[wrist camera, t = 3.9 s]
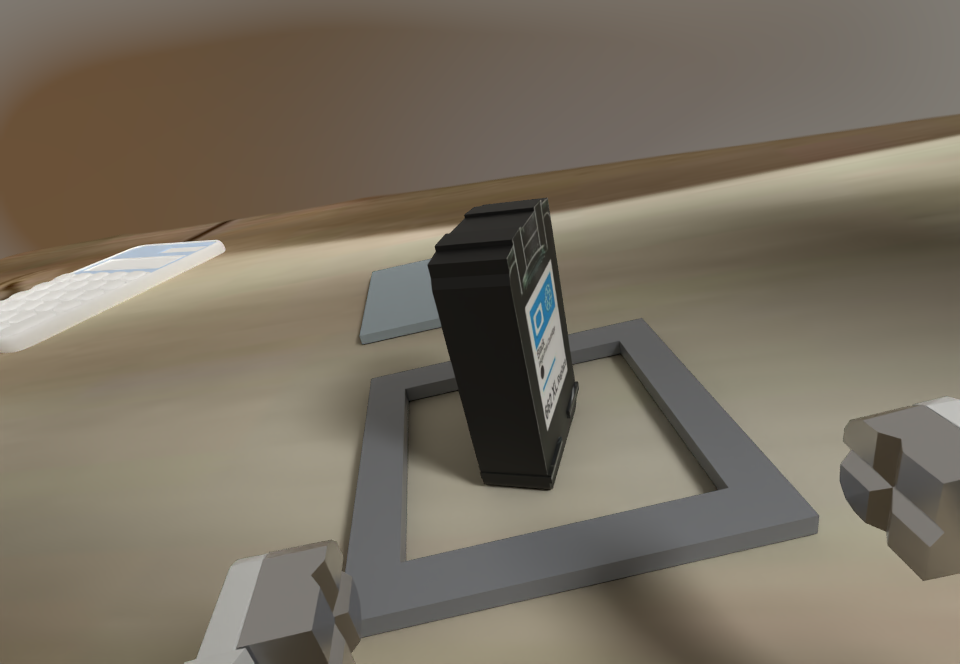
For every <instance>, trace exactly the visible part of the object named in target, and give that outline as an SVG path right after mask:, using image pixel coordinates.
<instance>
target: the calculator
mask: <svg viewBox="0 0 960 664" xmlns="http://www.w3.org/2000/svg"><path fill="white" fill-rule="evenodd" d="M223 252H225V247H224V245H223V243H222V242H221V241H219V240H208V241H193V242H179V243H165V244H151V245H142V246H137V247H134V248H131V249H128V250H126V251H123V252H121V253H118V254H116V255H113V256H111V257H108V258H106V259H104V260H101V261H99V262H96V263H94V264H91V265H89V266H86V267H84V268H82V269H79V270H77V271H74V272H72V273H69V274H63V275H61V276H58V277H56V278H55V279H54V280H52V281H50V282H44V283H41V284H38V285H36V286H34V287H33V288H32V289H30V290H28V291H22V292H19V293H16V294H14V295H12V296H10V297H9V298H8V299H6V300H3V301H0V353H13V352H18V351H21V350H24V349H26V348H29V347H31V346H33V345H35V344H37V343H40V342H42V341H44V340H46V339H48V338H50V337H52V336H54V335H56V334H58V333H60V332H62V331H64V330H66V329H68V328H70V327H72V326H74V325H77V324H79V323H81V322H83V321H85V320H87V319H89V318H91V317H93V316H95V315H97V314H99V313H101V312H103V311H105V310H107V309H109V308H111V307H113V306H115V305H117V304H120V303H122V302H124V301H126V300H128V299H130V298H132V297H134V296H136V295H138V294H140V293H142V292H144V291H146V290H148V289H150V288H152V287H154V286H156V285H158V284H161V283H163V282H165V281H167V280H169V279H171V278H173V277H175V276H177V275H179V274H181V273H183V272H185V271H187V270H189V269H191V268H193V267H195V266H197V265H199V264H201V263H204V262H206V261H208V260H210V259H212V258H214V257H216V256H218V255H220V254H221V253H223Z"/></svg>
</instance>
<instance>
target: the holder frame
mask: <svg viewBox="0 0 960 664" xmlns="http://www.w3.org/2000/svg"><path fill="white" fill-rule="evenodd" d="M568 339H569V345H570V352H571V359H572V364H576V363H580V362H585V361H589V360H593V359H598V358H602V357H607V356H611V355H616V354H620V353H621V354H622V356H623V357H624V359H625V360H626V361H627V363H628V364H629V366H630V367H631V368H632V370H633V371H634V373H635V374H636V375H637V377H638V378H639V380H640V381H641V382H642V384H643V385H644V387H645V388H646V389H647V391H648V392H649V394H650V395H651V396H652V398H653V399H654V401H655V402H656V403H657V405H658V406H659V408H660V409H661V410H662V412H663V413H664V415H665V416H666V417H667V419H668V420H669V422H670V423H671V424H672V426H673V427H674V429H675V430H676V431H677V433H678V434H679V435H680V437H681V438H682V440H683V441H684V442H685V444H686V445H687V447H688V448H689V449H690V451H691V452H692V454H693V455H694V456H695V458H696V459H697V461H698V462H699V463H700V465H701V466H702V468H703V469H704V470H705V472H706V473H707V475H708V476H709V477H710V479H711V480H712V482H713V483H714V484H715V486H716V487H717V489H718V490H717V491H713V492H708V493H704V494H700V495H695V496H691V497H686V498H682V499H678V500H673V501H669V502H664V503H660V504H656V505H651V506H647V507H642V508H638V509H634V510H629V511H625V512H620V513H616V514H612V515H607V516H603V517H598V518H594V519H590V520H585V521H581V522H576V523H572V524H568V525H563V526H559V527H554V528H550V529H546V530H541V531H537V532H532V533H528V534H524V535H519V536H515V537H510V538H506V539H502V540H497V541H493V542H488V543H484V544H480V545H475V546H471V547H467V548H462V549H458V550H453V551H449V552H445V553H440V554H436V555H431V556H427V557H423V558H418V559H414V560H409V561H406V524H407V464H408V404H409V401H411V400H415V399H420V398H424V397H429V396H433V395H438V394H442V393H446V392H451V391H455V390H458V386H457V382H456V379H455V375H454V371H453V367H452V364H451V361H448V362H444V363H439V364H435V365H430V366H426V367H421V368H417V369H412V370H408V371H403V372H399V373H394V374H390V375H385V376H381V377H377V378H372V379H371V386H370V393H369V401H368V408H367V415H366V423H365V430H364V437H363V445H362V452H361V459H360V467H359V474H358V482H357V489H356V496H355V504H354V511H353V518H352V526H351V533H350V540H349V548H348V555H347V562H346V570H345V573H346V574H348V575H350V576H352V577H353V580H354V582H355V585H356V587H357V591H358V595H359V599H360V605H361V618H362V627H361V638H362V637H366V636H370V635H375V634H379V633H384V632H388V631H392V630H397V629H401V628H405V627H410V626H414V625H419V624H423V623H427V622H432V621H436V620H440V619H445V618H449V617H454V616H458V615H462V614H467V613H471V612H475V611H480V610H484V609H489V608H493V607H497V606H502V605H506V604H510V603H515V602H519V601H524V600H528V599H532V598H537V597H541V596H545V595H550V594H554V593H558V592H563V591H567V590H572V589H576V588H580V587H585V586H589V585H593V584H598V583H602V582H607V581H611V580H615V579H620V578H624V577H628V576H633V575H637V574H642V573H646V572H650V571H655V570H659V569H663V568H668V567H672V566H677V565H681V564H685V563H690V562H694V561H698V560H703V559H707V558H712V557H716V556H720V555H725V554H729V553H733V552H738V551H742V550H747V549H751V548H755V547H760V546H764V545H768V544H773V543H777V542H782V541H786V540H790V539H795V538H799V537H803V536H808V535H812V534H817V533H818V523H819V515H818V514H817V512H816V511H815V510H814V509H813V508H812V507H811V506H810V505H809V504H808V502H807V501H806V500H805V499H804V498H803V497H802V496H801V495H800V493H799V492H798V491H797V490H796V489H795V488H794V487H793V486H792V485H791V483H790V482H789V481H788V480H787V479H786V478H785V477H784V476H783V475H782V473H781V472H780V471H779V470H778V469H777V468H776V467H775V466H774V465H773V463H772V462H771V461H770V460H769V459H768V458H767V457H766V456H765V455H764V453H763V452H762V451H761V450H760V449H759V448H758V447H757V446H756V444H755V443H754V442H753V441H752V440H751V439H750V438H749V437H748V436H747V434H746V433H745V432H744V431H743V430H742V429H741V428H740V427H739V426H738V424H737V423H736V422H735V421H734V420H733V419H732V418H731V417H730V416H729V414H728V413H727V412H726V411H725V410H724V409H723V408H722V407H721V406H720V404H719V403H718V402H717V401H716V400H715V399H714V398H713V397H712V395H711V394H710V393H709V392H708V391H707V390H706V389H705V388H704V387H703V385H702V384H701V383H700V382H699V381H698V380H697V379H696V378H695V377H694V375H693V374H692V373H691V372H690V371H689V370H688V369H687V368H686V367H685V365H684V364H683V363H682V362H681V361H680V360H679V359H678V358H677V357H676V355H675V354H674V353H673V352H672V351H671V350H670V349H669V348H668V347H667V345H666V344H665V343H664V342H663V341H662V340H661V339H660V338H659V336H658V335H657V334H656V333H655V332H654V331H653V330H652V329H651V328H650V326H649V325H648V324H647V323H646V322H645V321H644V320H643V319H642V318H640V319H636V320H631V321H627V322H622V323H618V324H613V325H609V326H604V327H600V328H595V329H591V330H586V331H582V332H578V333H573V334H569V335H568Z"/></svg>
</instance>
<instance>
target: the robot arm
mask: <svg viewBox="0 0 960 664" xmlns="http://www.w3.org/2000/svg"><path fill="white" fill-rule="evenodd" d="M843 442H844V443H845V444H846V445H847V446H848V447H849V449H850V450H851V451H850V452H849V454H848V455H847V456H846V457H845V459H844V460H843V461H842V463H841V464H840V483H841V486H842V489H843V492H844V495H845V498H846V500H847V501H848V503H849V504H850V506H851V507H852V509H853V510H854V512H855V513H856V514H857V515H858V516H859V517H860V518H861V519H862V520H863V521H864V522H865V523H867V524H869V525H872V526H874V527H876V528H879V529H881V530H884V531H886V535H887V545H888V546H889V547H890V548H891V549H892V550H893V551H894V552H895V553H896V554H897V555H898V556H899V557H900V558H901V559H902V560H903V561H904V562H905V563H906V564H907V565H908V566H909V567H910V568H911V569H912V570H913V571H914V572H915V573H916V574H917V575H918V576H919V577H920V578H921V579H922V580H923V581H925V580H930V579H935V578H940V577H945V576H950V575H955V574H960V399H956V398H952V397H948V396H945V397H941V398H937V399H933V400H929V401H925V402H921V403H917V404H914V405H912V406H906V407H902V408H898V409H894V410H889V411H885V412H881V413H877V414H873V415H869V416H864V417H860V418H856V419H852V420H850V421H849V422H848V424H847V425H846V427H845V428H844V436H843ZM343 558H344V556H343V554H342V552H341V550H340V548H339V546H338V543H337V541H334V540H327V541H322V542H317V543H312V544H308V545H303V546H298V547H293V548H288V549H283V550H278V551H273V552H269V553H268V554H263V555H258V556H253V557H248V558H243V559H238V560H236V561H235V562H234V563H233V564H232V565H231V567H230V568H229V570H228V573H227V576H226V578H225V581H224V584H223V587H222V589H221V592H220V595H219V597H218V600H217V603H216V606H215V608H214V611H213V614H212V616H211V619H210V622H209V625H208V627H207V630H206V633H205V635H204V638H203V641H202V644H201V646H200V649H199V652H198V654H197V657H196V659H195V660H191V661H187V662H185V663H184V664H356V663H355V661H354V659H353V657H352V654H351V653H352V652H353V650H354V649H355V647H356V646H357V645H358V643H359V642H360V640H361V627H362V618H361V605H360V599H359V595H358V591H357V587H356V585H355V582H354V580H353V577H352V576H350V575H348V574H346V573H345V572H343V571H342V566H343Z"/></svg>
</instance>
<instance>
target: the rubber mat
mask: <svg viewBox="0 0 960 664" xmlns="http://www.w3.org/2000/svg"><path fill="white" fill-rule="evenodd" d="M430 260H431V259H428V260H423V261H419V262H414V263H410V264H405V265H401V266H396V267H392V268H387V269H383V270H378V271H374V272H372V276H371V281H370V286H369V291H368V296H367V301H366V306H365V311H364V316H363V321H362V326H361V331H360V339H361V342H362V344H367V343H371V342H376V341H380V340H385V339H389V338H393V337H398V336H402V335H407V334H411V333H416V332H420V331H425V330H429V329H434V328H438V327H442V326H441V323H440V319H439V315H438V311H437V308H436V304H435V300H434V296H433V293H432V286H431V277H430V274H429V270H428V266H427V265H428V263H429V262H430Z"/></svg>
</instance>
